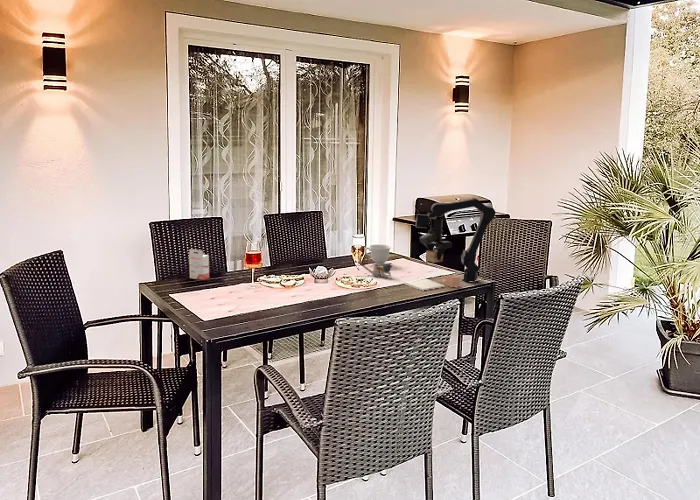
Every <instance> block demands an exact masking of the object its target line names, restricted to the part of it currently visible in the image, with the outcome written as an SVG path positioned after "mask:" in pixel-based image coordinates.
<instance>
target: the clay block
mask: <svg viewBox="0 0 700 500" xmlns="http://www.w3.org/2000/svg"><path fill="white" fill-rule="evenodd" d="M461 279H462V278H461V276H459V275H454V274H450V275H446V276H445V284H444V285H447V286H446V287H448V286H451V287H455V286H460V287H461Z"/></svg>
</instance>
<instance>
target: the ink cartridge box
mask: <svg viewBox="0 0 700 500" xmlns="http://www.w3.org/2000/svg"><path fill="white" fill-rule="evenodd" d="M188 250H189V254H188V258H189V259H188V262H189V266H188V267H189V279H193V280H198V281H199V280H201V281H205V280H208V279H210V260H209V259H210V257H209V256H210V255H209V254H204V251H203V250H200V249H193V248H192V249H191V248H190V249H188Z"/></svg>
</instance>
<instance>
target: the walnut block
mask: <svg viewBox="0 0 700 500" xmlns="http://www.w3.org/2000/svg"><path fill="white" fill-rule="evenodd" d="M425 253H426V254H425V256H426V257H425V261H427V262H431V263H432V264H433V263H434V264H435V263H442V262H443V261H444V254H443V255H442V257H441V258H440V260H438V259H437V249H433V250H427V249H426V252H425Z"/></svg>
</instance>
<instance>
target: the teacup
mask: <svg viewBox="0 0 700 500" xmlns="http://www.w3.org/2000/svg"><path fill="white" fill-rule="evenodd" d="M391 248H392V247H391V246H390V245H387V244H370V245H369V247H368V246H367V247H365V248H364V253H365V255H367V256H370V258H371V259H372V262H374V265H376V266H384V265H385V264H386V263H387V261H388V260H389V254H390V249H391ZM367 250H368V251H369V252H370V253H368V252H367Z"/></svg>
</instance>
